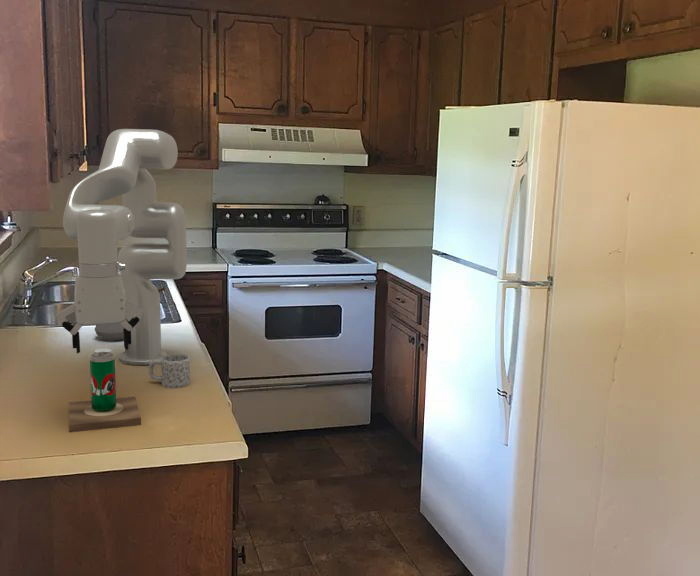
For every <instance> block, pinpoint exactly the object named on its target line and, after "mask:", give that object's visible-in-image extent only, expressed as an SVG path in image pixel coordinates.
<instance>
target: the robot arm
mask: <svg viewBox="0 0 700 576" xmlns="http://www.w3.org/2000/svg"><path fill="white" fill-rule="evenodd" d="M177 145H178V144H177V142H176V140H175V138H174V137H173V136H172V135H171V134H169V133H167V132H165V131H162V130H159V129H147V128H146V129H144V128H143V129H141V128H140V129H139V128H119V129H116V130H114V131H112V132H111V133H109V135H108V136H107V138H106V141H105V145H104V148H103V152H102V155H101V159H100V163H99V167H98V170H96V171H94V172H92V173H91V174H89V175H87V176H86V177H85V178H83V179H82V180H80V181H79V182H78V183H76V185H75V186H73V188H72V189H71V191H70V193H69V194H68V196H67V197H68V198H67V200H66V205H65V208H64V210H63V216H62V226H63V231H64V232H65V234H66V235H67V236H68V237H69V238H70V239H73V240H77V248H78V249H77V250H78V252H77V253H78V266H79V275H76V277H75V281H74V293H73V294H74V296H73V297H74V302H73V304H70V305H69V306H67V307H65V308H63V309H61V310H59V311H58V312H57V313H56V315H55V316H56V318H57V320H58V322H59V324H60V325H61V326H62V327H63V328H64V330H65V331H67V332H69V333H70V334H71V341H72V349H76V354H79V353H81V342H80V341H81V340H80V330H81V328H82V327H83V326H96V325H101V324H115V323H120V324H121V325H122V326H123V327H124V329H123V334H124V340H123V346H124V352H122V353H120V354H119V356H118V359H119V361H120V363H123V364H126V365H132V366H135V365H136V366H144V365H146V366H147V365H148V366H149V363H150V362H151V361H153V360H160V359H161V358H162V357H163V356H166V355H168V352H167V351H165V350H162V330H161V329H162V327H161V326H162V324H161V294H160V293H159V292H158V290H157V289H158V288H157V287H156V286H155V284H153V282H152V281H151V280H179V279H180V280H181V279H182V278H183V277H184V276H185V275H186V271H187V263H188V261H187V258H188V257H187V253H188V252H187V223H186V222H187V221H186V213H185V210H184V208H183V207H182V205H181V204H179V203H177V202H176V203H175V202H169V201H166V202H165V201H158V199H157V185H156V184H157V183H156V181H155V179H154V177H153V176H152V175H151V173H150V171H148V170H150V169H151V170H171V169H173V168H174V167H175V165H176V164H177V160H178V153H179V152H178V146H177ZM120 196H122V205H118V204H99V203H100V202H104V201H106V200H107V201H108V200H111V199H114V198H116V197H120ZM97 203H98V204H97ZM129 237H131V238H138V239H165V240H166V241H167V243H154V242H144V243H143V242H134V243H129V244H126V245H124V246H122V247H121V248H120V249H119V252H118V244H117V241H123V240H124V241H125V240H126V239H128V238H129ZM119 272H120V273H119ZM72 313H74V318H75V321H74V323H71V322H69V321H68V320H67V318H66V317H67V316H68V315H71V314H72Z"/></svg>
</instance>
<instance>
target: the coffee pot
mask: <svg viewBox="0 0 700 576" xmlns="http://www.w3.org/2000/svg"><path fill="white" fill-rule="evenodd" d="M157 290H158V292H159V294H160V292H164V291H165V292H166V294H168V291H167V289H166V287H162V288H157ZM123 329H124V327H123V326H122V325H121V324H120V323H115V324H101V325H95V327H94V333H95V334H96V336H98V337H99V338H101V339H102V340H103V341H107V342H116V341H115V340H119V341H122V340H121V339H124V334H123Z"/></svg>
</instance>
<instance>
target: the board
mask: <svg viewBox="0 0 700 576" xmlns="http://www.w3.org/2000/svg"><path fill="white" fill-rule="evenodd" d="M139 425H142V417H141V413H140V408H139V404H138V402H137V398H136V396H126V397H125V396H124V397H116V407H115V408H114V409H113V410H111V411H107V412H97V411H95V410H93V409H92V407H91V400H79V401H71V402H68V426H69V427H68V430H69V431H68V432H69V433H74V432H73V431H75V432H81V431H82V432H84V431H93V430H103V428H104V429H113V428H121V427H122V428H123V427H130V426H132V427H133V426H139Z"/></svg>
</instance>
